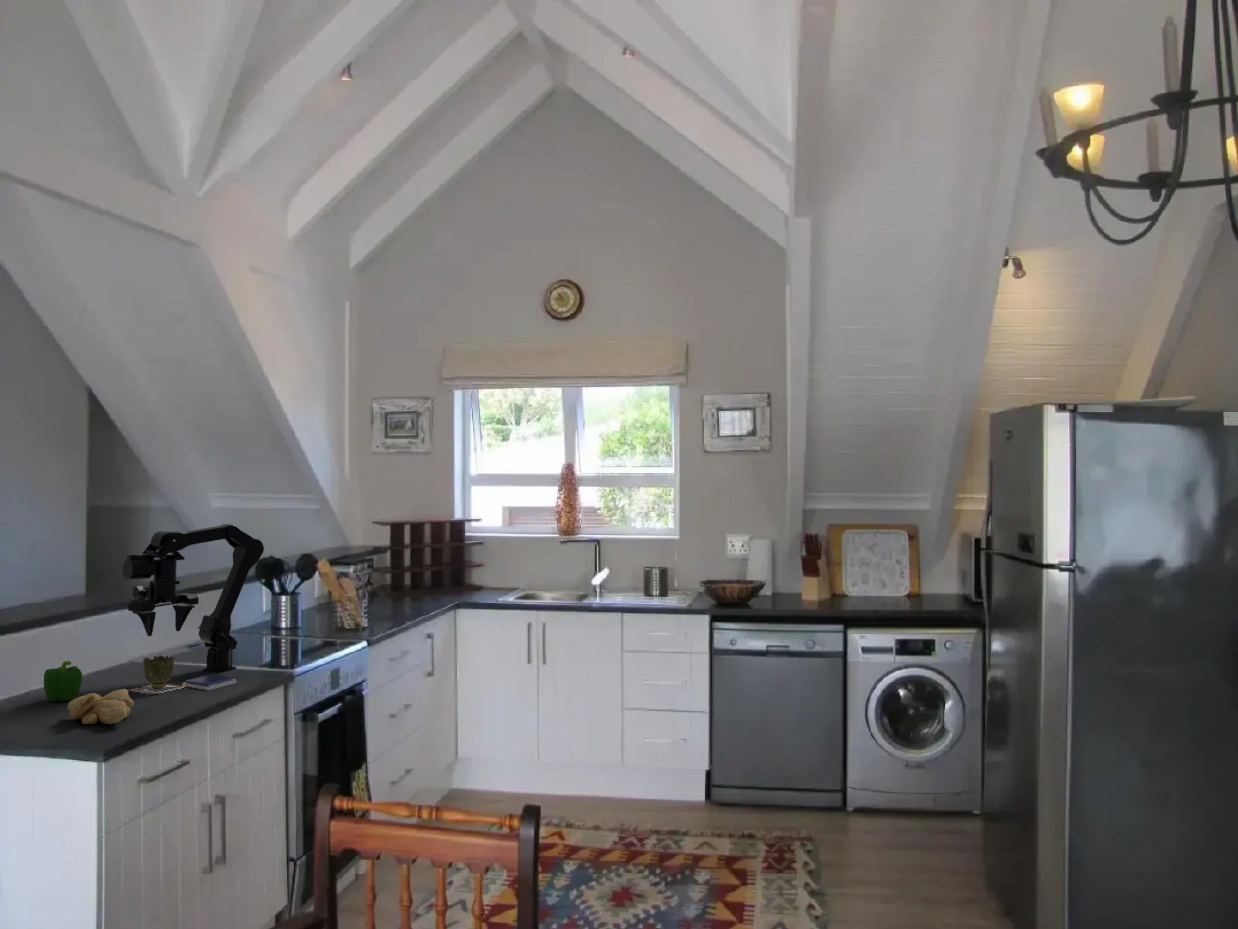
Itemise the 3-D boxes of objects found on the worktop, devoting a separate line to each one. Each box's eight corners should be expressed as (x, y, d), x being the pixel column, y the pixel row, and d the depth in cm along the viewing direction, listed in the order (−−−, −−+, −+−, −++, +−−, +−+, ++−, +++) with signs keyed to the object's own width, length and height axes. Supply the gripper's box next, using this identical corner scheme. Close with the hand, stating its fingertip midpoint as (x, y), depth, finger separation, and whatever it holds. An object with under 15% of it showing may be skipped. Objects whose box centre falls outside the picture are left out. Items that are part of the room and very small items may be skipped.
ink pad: (211, 679, 263) (211, 673, 263) (236, 683, 260) (236, 677, 260) (182, 686, 255) (182, 680, 255) (207, 690, 251) (207, 684, 251)
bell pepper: (40, 699, 239) (41, 659, 239) (77, 694, 244) (78, 655, 244) (46, 706, 232) (47, 665, 233) (84, 701, 238) (85, 661, 238)
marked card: (159, 683, 257) (159, 682, 257) (186, 687, 253) (186, 686, 253) (127, 691, 249) (127, 689, 249) (155, 695, 245) (155, 694, 245)
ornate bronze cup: (165, 683, 256) (166, 653, 256) (179, 688, 252) (179, 657, 252) (137, 688, 251) (138, 657, 251) (150, 692, 246) (151, 661, 246)
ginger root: (78, 706, 228) (86, 673, 228) (144, 721, 229) (153, 689, 229) (43, 726, 213) (52, 691, 212) (114, 743, 214) (123, 708, 214)
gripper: (172, 572, 275) (171, 626, 275) (114, 578, 258) (113, 636, 258) (200, 574, 270) (199, 629, 270) (143, 581, 253) (142, 640, 253)
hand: (163, 633), depth 263 cm, fingers open, 9 cm apart
